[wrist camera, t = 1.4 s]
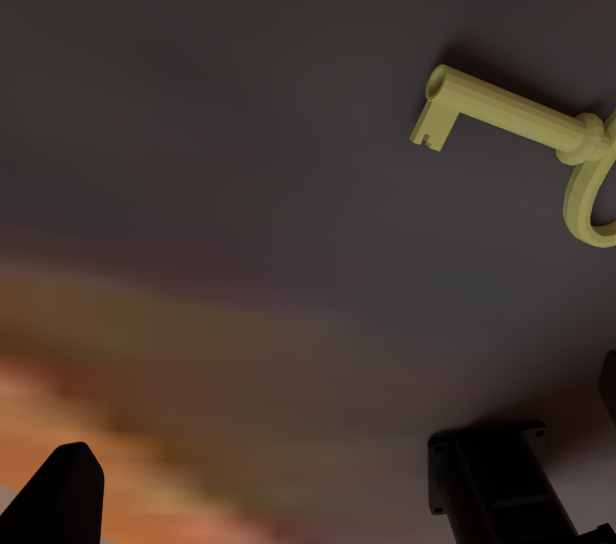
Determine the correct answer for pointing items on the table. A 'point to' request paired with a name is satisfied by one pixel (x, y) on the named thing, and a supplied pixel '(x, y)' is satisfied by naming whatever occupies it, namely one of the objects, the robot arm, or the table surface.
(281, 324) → the table surface
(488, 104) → the key
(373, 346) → the table surface
